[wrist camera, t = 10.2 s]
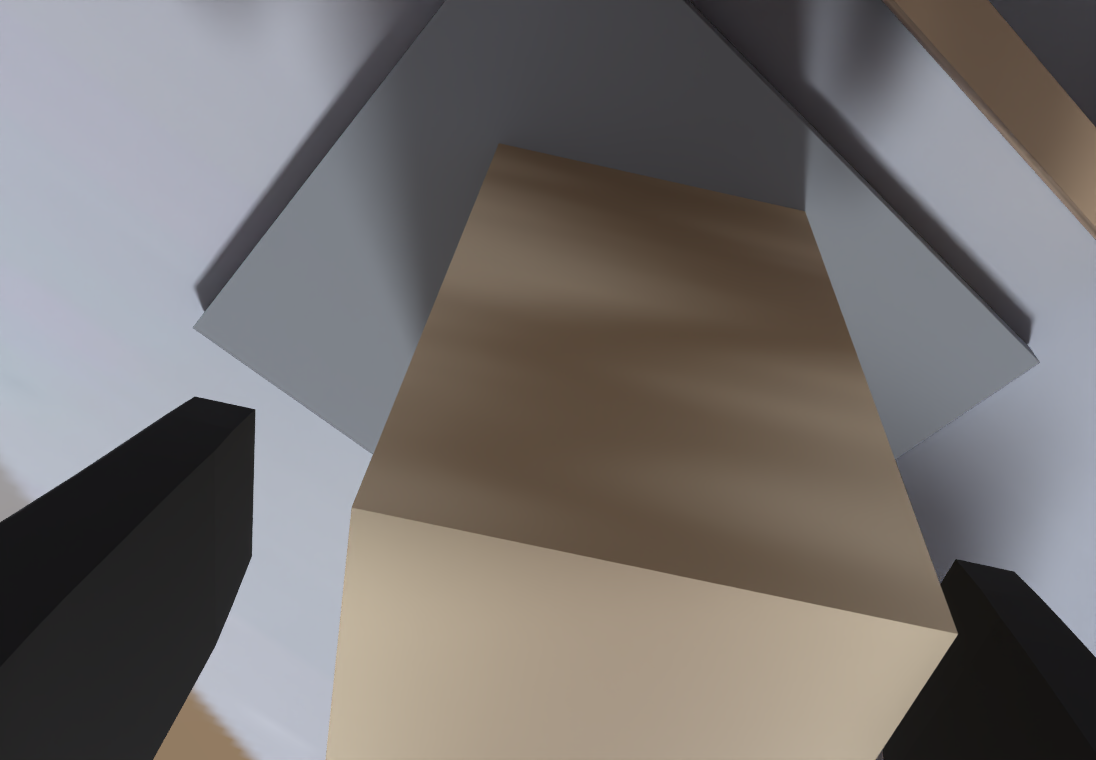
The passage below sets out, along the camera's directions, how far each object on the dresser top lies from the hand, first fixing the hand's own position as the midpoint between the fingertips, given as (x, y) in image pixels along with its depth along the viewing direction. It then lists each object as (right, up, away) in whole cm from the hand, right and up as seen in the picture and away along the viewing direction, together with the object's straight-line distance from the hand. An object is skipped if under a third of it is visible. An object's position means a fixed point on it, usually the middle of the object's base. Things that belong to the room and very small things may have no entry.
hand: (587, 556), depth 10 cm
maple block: (0, +2, +4) cm, 4 cm away
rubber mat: (0, +3, +4) cm, 5 cm away
